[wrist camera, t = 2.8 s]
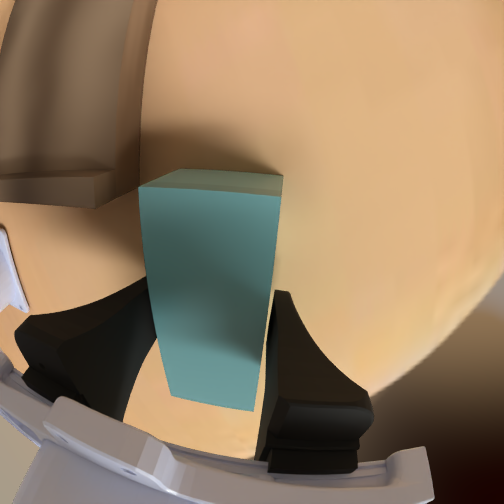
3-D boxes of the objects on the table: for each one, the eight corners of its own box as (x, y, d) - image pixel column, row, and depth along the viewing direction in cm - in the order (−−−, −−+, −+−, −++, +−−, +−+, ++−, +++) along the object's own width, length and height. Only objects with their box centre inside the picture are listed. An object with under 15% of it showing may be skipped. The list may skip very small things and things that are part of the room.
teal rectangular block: (191, 347, 16) (171, 395, 13) (182, 167, 12) (138, 187, 8) (261, 358, 16) (253, 411, 12) (283, 174, 11) (281, 196, 8)
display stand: (15, 184, 13) (-21, 200, 9) (38, -9, 6) (6, -16, 3) (139, 186, 12) (95, 208, 9) (177, -66, 5) (152, -96, 2)
